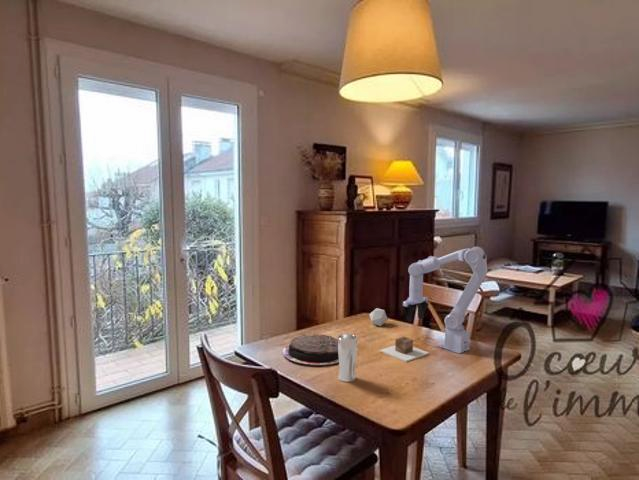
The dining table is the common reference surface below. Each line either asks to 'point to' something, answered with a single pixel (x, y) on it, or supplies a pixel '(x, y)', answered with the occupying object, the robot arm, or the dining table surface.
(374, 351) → the dining table surface
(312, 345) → the chocolate cake
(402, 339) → the walnut cube
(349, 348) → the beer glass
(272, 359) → the dining table surface
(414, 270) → the robot arm
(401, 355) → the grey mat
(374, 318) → the die
